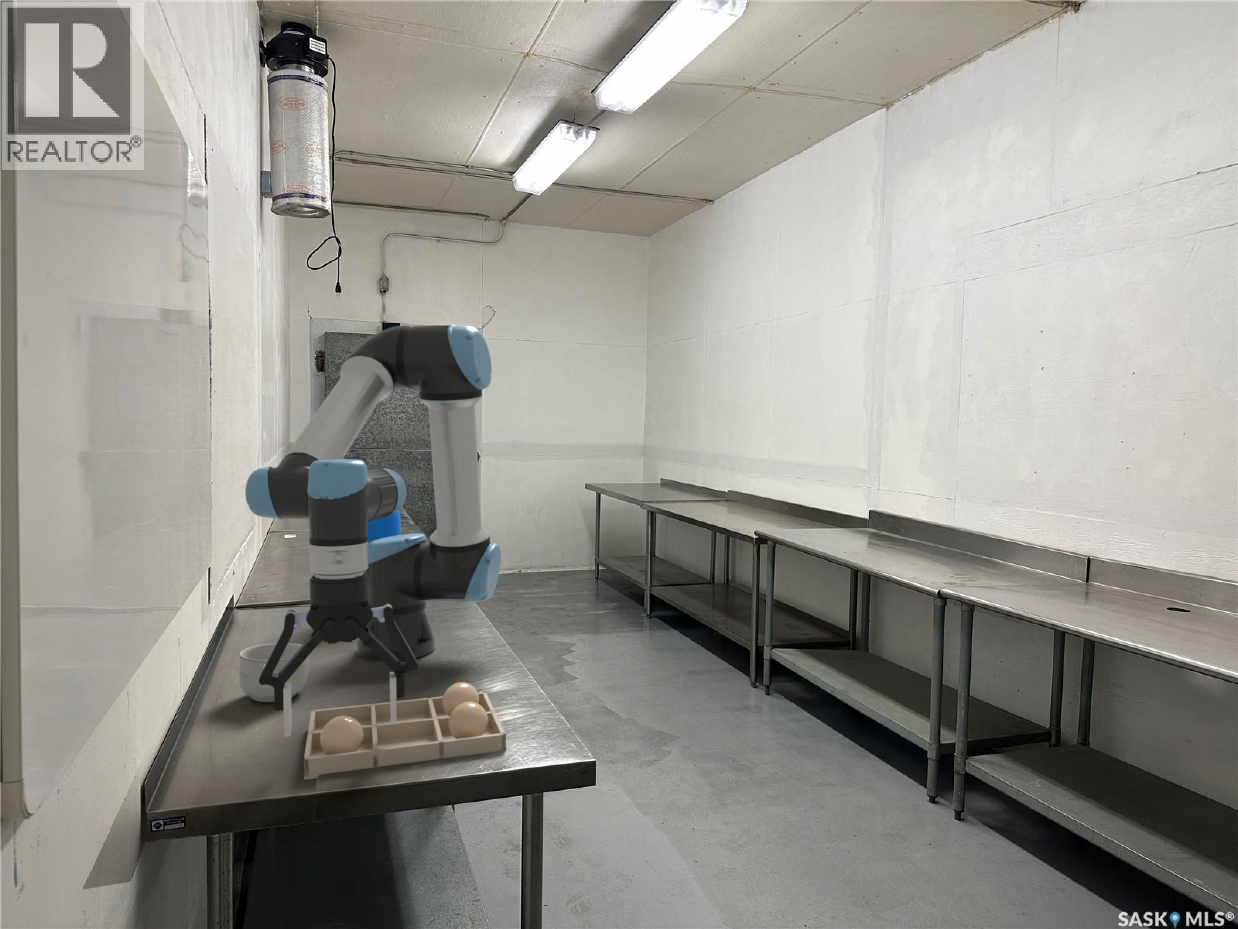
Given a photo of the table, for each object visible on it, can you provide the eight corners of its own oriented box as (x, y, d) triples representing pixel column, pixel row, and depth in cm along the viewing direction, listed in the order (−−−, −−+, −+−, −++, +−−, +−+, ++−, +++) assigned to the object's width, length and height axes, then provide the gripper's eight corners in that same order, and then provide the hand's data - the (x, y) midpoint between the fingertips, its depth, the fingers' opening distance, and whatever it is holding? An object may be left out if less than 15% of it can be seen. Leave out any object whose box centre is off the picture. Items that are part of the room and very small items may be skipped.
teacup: (254, 686, 136) (253, 641, 135) (318, 684, 137) (317, 640, 136) (220, 716, 122) (219, 666, 121) (292, 715, 123) (291, 665, 122)
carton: (311, 727, 118) (311, 710, 117) (485, 708, 126) (485, 691, 126) (304, 780, 101) (303, 759, 101) (505, 753, 109) (505, 734, 109)
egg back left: (440, 714, 122) (440, 679, 122) (476, 710, 124) (476, 675, 123) (444, 728, 117) (444, 691, 116) (481, 723, 118) (481, 687, 118)
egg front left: (446, 735, 114) (446, 698, 113) (484, 731, 116) (484, 694, 115) (451, 751, 109) (450, 712, 108) (491, 746, 110) (490, 707, 110)
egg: (321, 751, 108) (320, 712, 108) (363, 746, 110) (363, 707, 110) (319, 768, 103) (318, 727, 103) (363, 763, 105) (363, 722, 104)
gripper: (233, 585, 97) (237, 749, 99) (436, 573, 105) (437, 726, 107) (241, 573, 105) (245, 727, 106) (431, 563, 113) (432, 706, 114)
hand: (341, 727), depth 106 cm, fingers open, 13 cm apart
